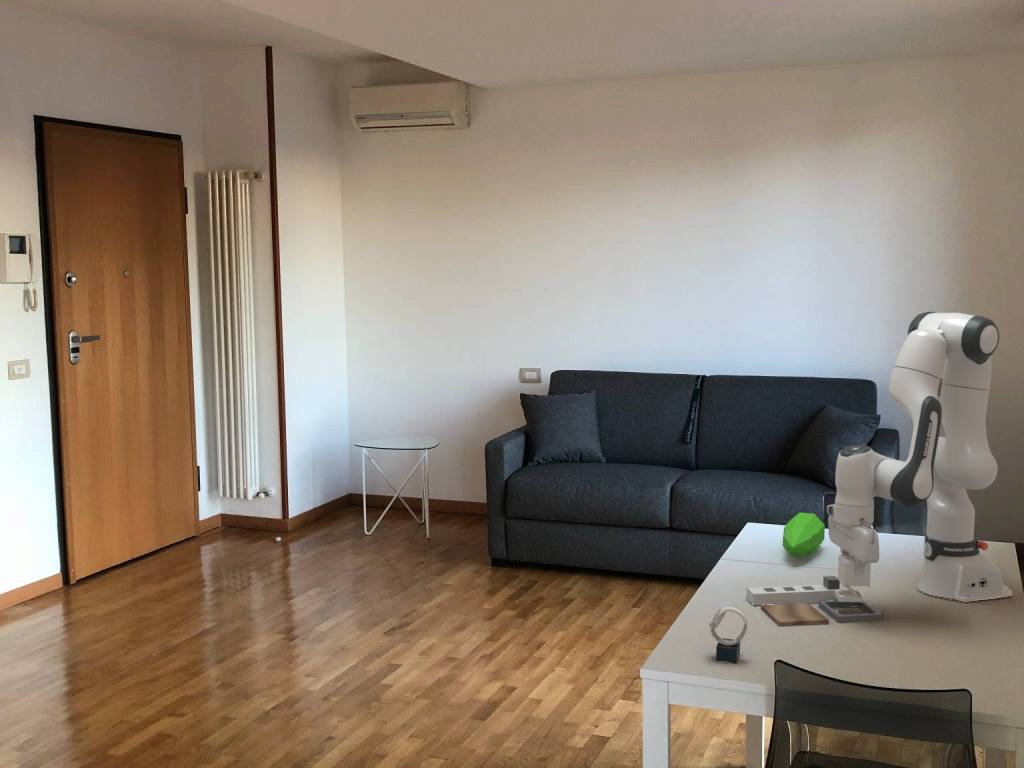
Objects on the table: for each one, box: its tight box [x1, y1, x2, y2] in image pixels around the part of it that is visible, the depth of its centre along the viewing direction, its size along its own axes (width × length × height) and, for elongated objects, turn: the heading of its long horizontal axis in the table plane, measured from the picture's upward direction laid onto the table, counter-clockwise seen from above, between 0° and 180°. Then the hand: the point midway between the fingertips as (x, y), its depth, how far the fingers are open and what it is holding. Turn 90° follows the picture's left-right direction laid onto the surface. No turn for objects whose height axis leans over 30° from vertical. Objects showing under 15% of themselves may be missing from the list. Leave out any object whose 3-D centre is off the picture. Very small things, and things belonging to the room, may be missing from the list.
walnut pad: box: [760, 603, 830, 627], centre depth 253 cm, size 12×12×1 cm
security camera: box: [835, 554, 872, 602], centre depth 254 cm, size 6×7×10 cm
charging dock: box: [818, 600, 884, 623], centre depth 254 cm, size 11×11×2 cm
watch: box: [709, 605, 749, 664], centre depth 227 cm, size 6×8×11 cm
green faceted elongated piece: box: [782, 512, 826, 558], centre depth 303 cm, size 11×12×30 cm
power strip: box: [745, 575, 841, 606], centre depth 262 cm, size 22×8×5 cm, turn 97°
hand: (852, 570), depth 254 cm, fingers closed on security camera, 5 cm apart
